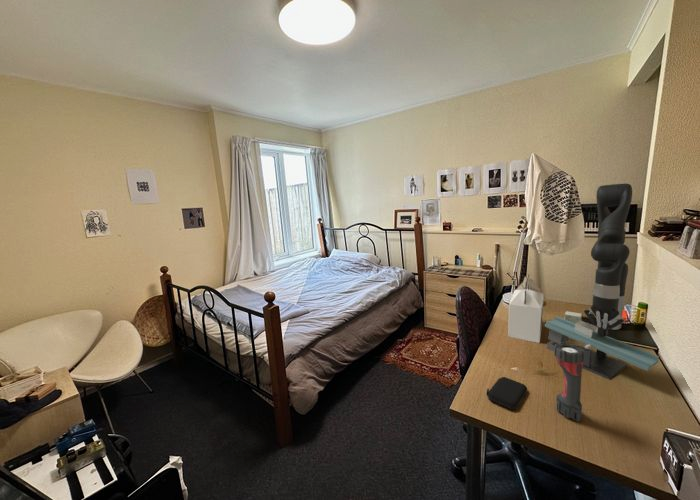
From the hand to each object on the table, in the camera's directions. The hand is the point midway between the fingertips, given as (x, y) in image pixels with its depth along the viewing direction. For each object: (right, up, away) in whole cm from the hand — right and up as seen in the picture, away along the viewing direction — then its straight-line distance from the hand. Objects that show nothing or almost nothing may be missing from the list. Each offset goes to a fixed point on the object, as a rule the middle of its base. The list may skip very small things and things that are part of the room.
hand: (602, 336), depth 114 cm
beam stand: (-2, -12, +8) cm, 14 cm away
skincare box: (+6, -8, +24) cm, 26 cm away
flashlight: (-29, -19, -19) cm, 40 cm away
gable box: (-10, -7, +34) cm, 36 cm away
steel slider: (-3, -1, +5) cm, 6 cm away
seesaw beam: (0, -9, +4) cm, 10 cm away
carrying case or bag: (-43, -19, -9) cm, 48 cm away
